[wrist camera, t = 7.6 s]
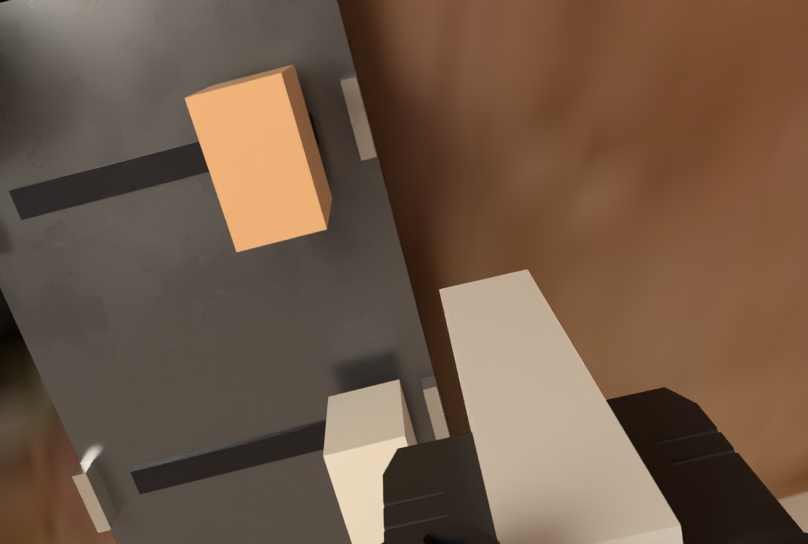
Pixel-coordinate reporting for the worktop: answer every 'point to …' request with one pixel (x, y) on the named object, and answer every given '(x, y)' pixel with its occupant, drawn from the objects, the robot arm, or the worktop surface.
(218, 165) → the block
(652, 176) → the worktop surface
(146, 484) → the console
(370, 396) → the block
